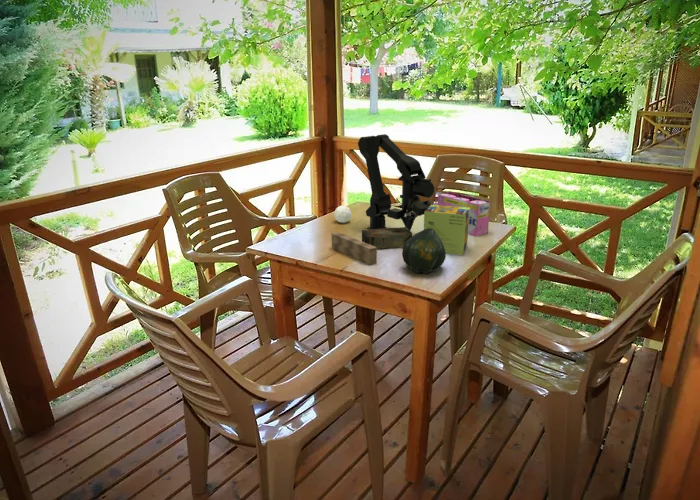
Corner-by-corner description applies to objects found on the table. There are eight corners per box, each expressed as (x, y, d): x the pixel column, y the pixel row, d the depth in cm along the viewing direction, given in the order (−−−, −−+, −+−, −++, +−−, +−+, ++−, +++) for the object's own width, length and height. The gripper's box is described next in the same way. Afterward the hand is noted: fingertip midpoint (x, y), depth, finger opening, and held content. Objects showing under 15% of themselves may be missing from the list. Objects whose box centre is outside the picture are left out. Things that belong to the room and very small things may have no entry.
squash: (391, 259, 164) (423, 228, 159) (397, 246, 178) (427, 217, 172) (422, 288, 165) (455, 258, 159) (426, 273, 179) (456, 245, 173)
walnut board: (331, 248, 192) (331, 233, 189) (338, 246, 193) (337, 231, 191) (370, 265, 174) (370, 249, 172) (376, 263, 176) (376, 247, 174)
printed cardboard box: (412, 246, 192) (413, 230, 190) (365, 251, 188) (365, 235, 186) (406, 240, 199) (406, 225, 197) (360, 244, 195) (360, 228, 193)
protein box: (463, 255, 182) (466, 214, 177) (422, 251, 187) (423, 211, 182) (467, 246, 191) (470, 207, 186) (428, 242, 197) (429, 204, 191)
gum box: (433, 223, 220) (434, 193, 215) (445, 220, 225) (447, 190, 220) (476, 236, 202) (478, 204, 197) (488, 233, 206) (491, 201, 202)
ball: (339, 228, 224) (328, 216, 221) (345, 218, 229) (334, 205, 226) (351, 223, 219) (340, 209, 216) (357, 212, 225) (346, 199, 222)
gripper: (406, 200, 182) (405, 241, 187) (441, 192, 193) (439, 231, 198) (386, 195, 190) (386, 234, 195) (420, 187, 201) (419, 224, 206)
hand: (408, 231), depth 199 cm, fingers closed
